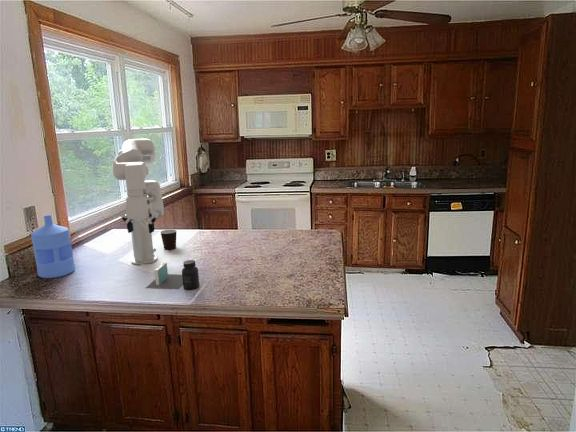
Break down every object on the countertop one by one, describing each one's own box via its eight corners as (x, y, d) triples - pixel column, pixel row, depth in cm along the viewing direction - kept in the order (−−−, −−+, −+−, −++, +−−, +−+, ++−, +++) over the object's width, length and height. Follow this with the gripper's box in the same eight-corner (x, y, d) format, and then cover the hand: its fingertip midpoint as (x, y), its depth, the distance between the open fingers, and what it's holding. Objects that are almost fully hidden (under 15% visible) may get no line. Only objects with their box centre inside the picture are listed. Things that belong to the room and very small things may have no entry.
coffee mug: (174, 251, 218) (172, 233, 216) (159, 250, 220) (157, 233, 217) (182, 244, 230) (181, 228, 227) (168, 244, 231) (167, 227, 229)
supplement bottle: (202, 287, 170) (200, 261, 167) (189, 293, 165) (187, 265, 162) (193, 283, 174) (191, 257, 171) (180, 288, 169) (177, 262, 166)
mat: (161, 275, 185) (161, 273, 184) (192, 276, 183) (192, 274, 183) (145, 289, 169) (145, 288, 169) (178, 290, 167) (178, 289, 167)
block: (164, 277, 181) (163, 262, 179) (168, 277, 180) (166, 262, 179) (156, 285, 172) (154, 270, 170) (159, 285, 172) (158, 270, 170)
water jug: (35, 272, 191) (25, 216, 185) (71, 264, 201) (62, 210, 194) (41, 281, 180) (30, 222, 173) (78, 272, 189) (70, 216, 183)
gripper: (160, 191, 170) (163, 230, 174) (122, 191, 173) (127, 229, 176) (151, 194, 163) (155, 234, 167) (113, 194, 165) (117, 234, 169)
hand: (141, 232), depth 171 cm, fingers open, 9 cm apart
